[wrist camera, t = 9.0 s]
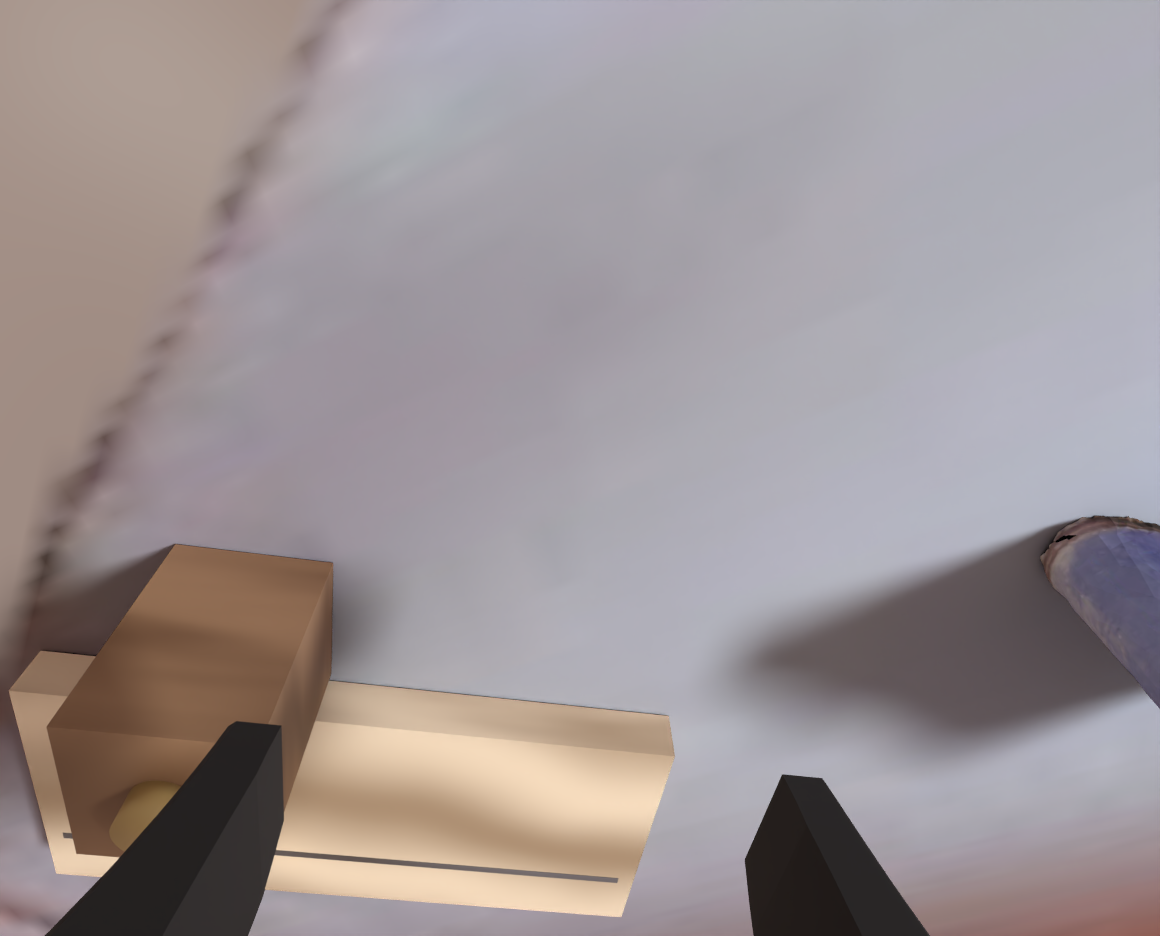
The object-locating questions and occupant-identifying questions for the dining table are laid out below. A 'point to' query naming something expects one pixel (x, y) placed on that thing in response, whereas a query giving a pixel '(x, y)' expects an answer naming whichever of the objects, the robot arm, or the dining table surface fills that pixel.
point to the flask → (1114, 588)
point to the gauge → (191, 685)
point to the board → (429, 796)
